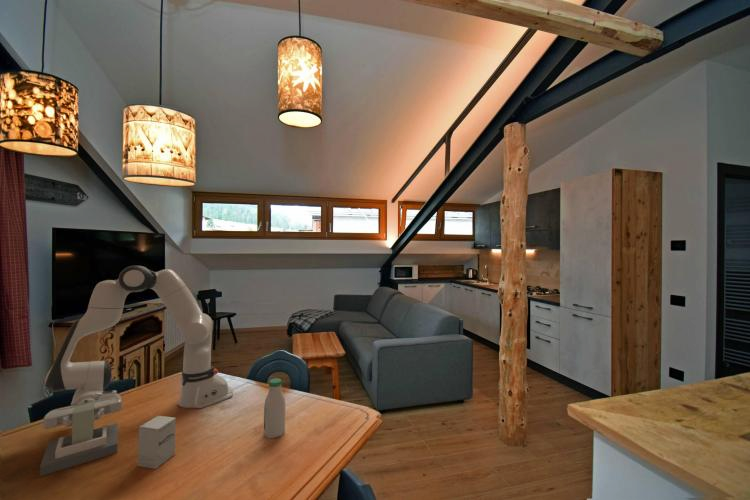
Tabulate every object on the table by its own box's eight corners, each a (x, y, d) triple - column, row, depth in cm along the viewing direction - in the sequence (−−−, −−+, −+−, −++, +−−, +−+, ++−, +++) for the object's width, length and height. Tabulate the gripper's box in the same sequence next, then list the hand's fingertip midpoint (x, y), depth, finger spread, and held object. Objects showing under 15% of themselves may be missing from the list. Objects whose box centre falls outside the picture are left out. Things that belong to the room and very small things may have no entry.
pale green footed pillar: (93, 436, 108) (94, 402, 108) (92, 444, 104) (93, 409, 104) (73, 441, 105) (74, 406, 105) (71, 450, 101) (72, 413, 101)
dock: (117, 431, 117) (117, 416, 117) (117, 452, 104) (117, 436, 105) (48, 450, 105) (49, 434, 105) (39, 476, 93) (40, 458, 93)
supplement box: (156, 469, 97) (157, 429, 97) (136, 466, 98) (137, 426, 98) (175, 454, 104) (176, 417, 104) (157, 451, 105) (158, 414, 105)
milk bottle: (289, 430, 119) (290, 378, 119) (274, 441, 112) (275, 386, 112) (273, 425, 122) (274, 374, 123) (259, 435, 115) (260, 382, 116)
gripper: (46, 404, 108) (38, 422, 97) (121, 389, 121) (121, 402, 110) (45, 423, 108) (37, 442, 97) (121, 405, 121) (121, 420, 110)
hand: (83, 420), depth 104 cm, fingers open, 5 cm apart
